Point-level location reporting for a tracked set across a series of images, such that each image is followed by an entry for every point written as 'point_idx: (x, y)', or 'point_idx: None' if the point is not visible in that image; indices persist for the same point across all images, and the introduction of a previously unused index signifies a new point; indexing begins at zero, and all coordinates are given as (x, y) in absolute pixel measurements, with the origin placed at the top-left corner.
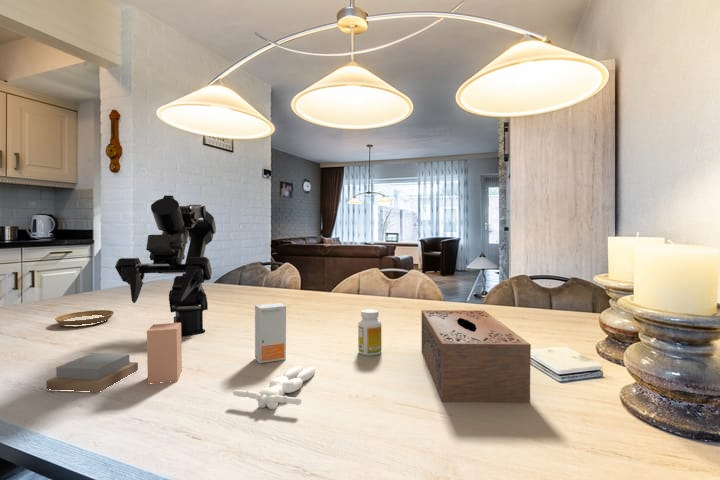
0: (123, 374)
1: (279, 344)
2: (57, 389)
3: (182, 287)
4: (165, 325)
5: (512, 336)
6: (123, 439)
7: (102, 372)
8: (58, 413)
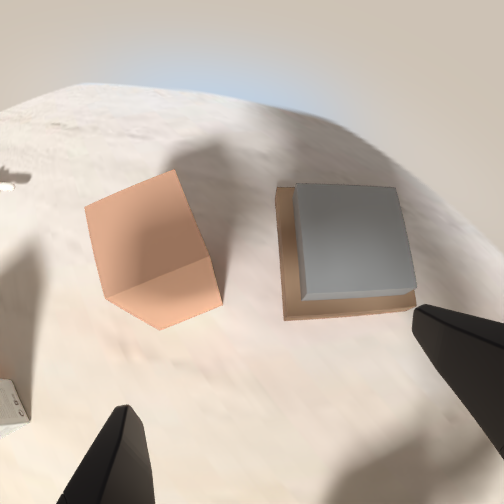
0: (281, 262)
1: None
2: None
3: (103, 469)
4: (145, 245)
5: None
6: (131, 103)
7: (295, 204)
8: (275, 134)
